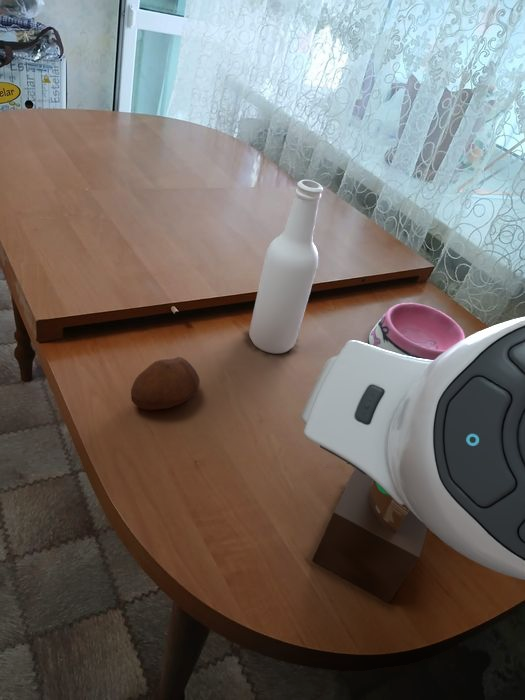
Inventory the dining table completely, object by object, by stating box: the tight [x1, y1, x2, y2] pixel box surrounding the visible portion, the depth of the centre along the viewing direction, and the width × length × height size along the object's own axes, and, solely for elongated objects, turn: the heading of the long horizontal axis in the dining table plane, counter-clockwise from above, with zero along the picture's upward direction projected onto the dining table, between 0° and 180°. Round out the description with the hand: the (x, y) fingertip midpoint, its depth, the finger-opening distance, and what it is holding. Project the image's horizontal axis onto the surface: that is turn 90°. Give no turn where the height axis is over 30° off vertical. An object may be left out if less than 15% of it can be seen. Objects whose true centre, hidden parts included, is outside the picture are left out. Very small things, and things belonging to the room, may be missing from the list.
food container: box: [369, 479, 409, 533], centre depth 61 cm, size 12×6×10 cm, turn 147°
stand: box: [312, 468, 429, 604], centre depth 67 cm, size 10×13×10 cm
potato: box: [130, 356, 201, 411], centre depth 80 cm, size 8×12×8 cm, turn 138°
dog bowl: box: [367, 302, 467, 360], centre depth 103 cm, size 18×19×7 cm
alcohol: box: [248, 179, 324, 354], centre depth 91 cm, size 9×9×30 cm
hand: (436, 457), depth 42 cm, fingers open, 8 cm apart
